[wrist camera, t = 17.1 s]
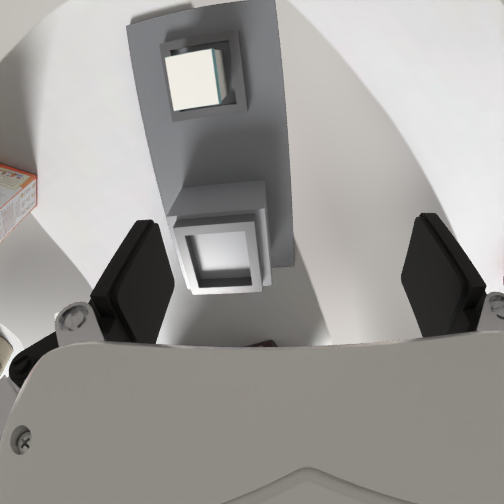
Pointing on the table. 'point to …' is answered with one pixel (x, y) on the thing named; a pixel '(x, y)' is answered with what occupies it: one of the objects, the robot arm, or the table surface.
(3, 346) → the travel mug
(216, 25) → the grey docking base
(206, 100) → the white teal-banded block
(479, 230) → the table surface
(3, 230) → the cracker box
